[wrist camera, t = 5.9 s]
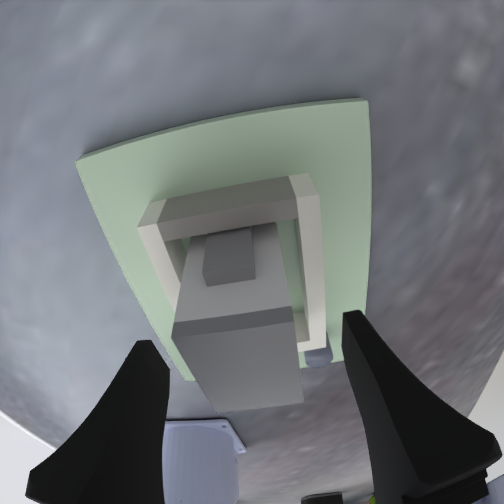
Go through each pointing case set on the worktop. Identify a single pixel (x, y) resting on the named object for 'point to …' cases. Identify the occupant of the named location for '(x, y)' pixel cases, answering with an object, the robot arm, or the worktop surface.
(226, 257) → the plug
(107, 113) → the worktop surface
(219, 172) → the board
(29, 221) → the worktop surface
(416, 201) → the worktop surface
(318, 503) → the electronic device
